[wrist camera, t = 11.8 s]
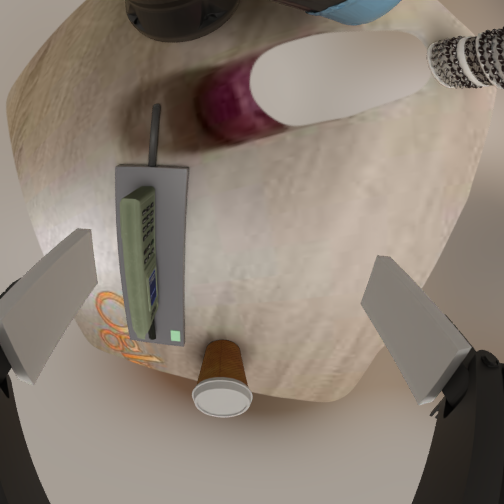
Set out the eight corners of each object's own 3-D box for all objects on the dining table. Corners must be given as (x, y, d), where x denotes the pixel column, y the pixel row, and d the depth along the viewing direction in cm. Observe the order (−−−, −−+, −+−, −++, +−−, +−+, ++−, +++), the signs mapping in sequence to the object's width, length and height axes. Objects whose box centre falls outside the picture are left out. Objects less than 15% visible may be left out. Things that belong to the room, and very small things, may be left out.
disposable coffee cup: (236, 373, 52) (238, 422, 42) (190, 359, 50) (184, 410, 39) (257, 342, 49) (263, 394, 38) (207, 326, 47) (202, 379, 36)
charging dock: (123, 104, 31) (118, 104, 29) (195, 104, 32) (193, 103, 30) (132, 334, 47) (130, 340, 45) (184, 340, 48) (183, 347, 46)
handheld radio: (159, 186, 35) (164, 334, 45) (136, 185, 35) (146, 331, 45) (142, 199, 29) (155, 361, 39) (115, 198, 29) (135, 358, 39)
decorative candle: (469, 74, 29) (582, 82, 7) (447, 100, 32) (573, 117, 9) (441, 32, 26) (554, 15, 4) (415, 54, 29) (544, 37, 6)
